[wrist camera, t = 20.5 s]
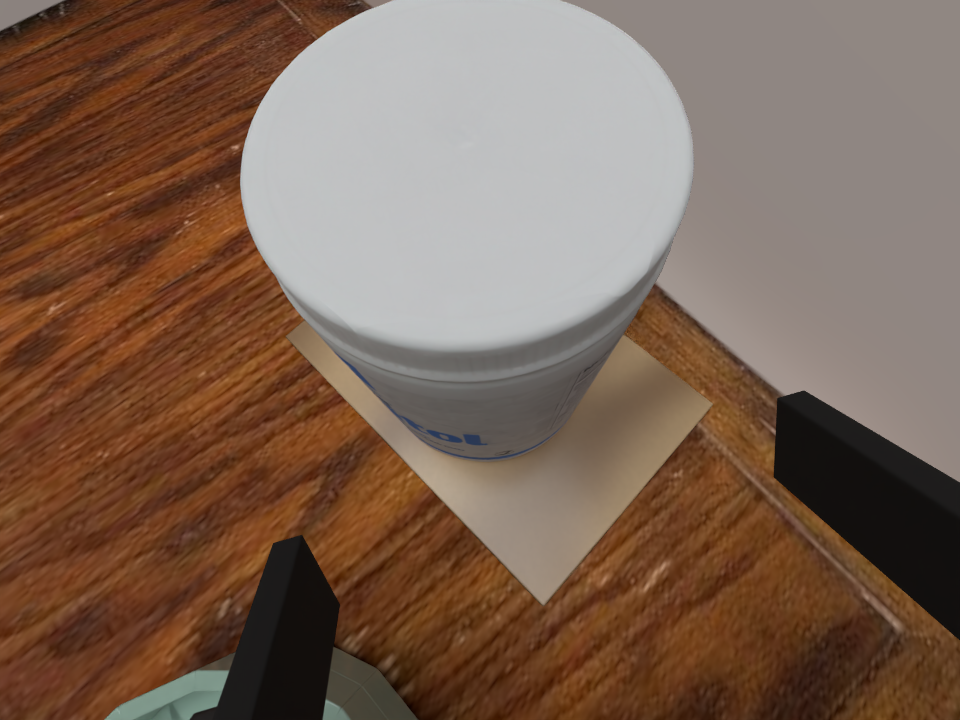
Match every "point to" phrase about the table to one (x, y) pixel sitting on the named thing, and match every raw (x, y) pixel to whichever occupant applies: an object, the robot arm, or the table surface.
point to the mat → (545, 461)
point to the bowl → (167, 709)
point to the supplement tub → (470, 207)
